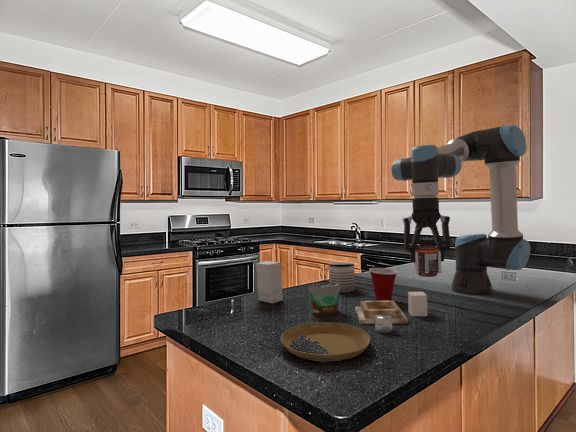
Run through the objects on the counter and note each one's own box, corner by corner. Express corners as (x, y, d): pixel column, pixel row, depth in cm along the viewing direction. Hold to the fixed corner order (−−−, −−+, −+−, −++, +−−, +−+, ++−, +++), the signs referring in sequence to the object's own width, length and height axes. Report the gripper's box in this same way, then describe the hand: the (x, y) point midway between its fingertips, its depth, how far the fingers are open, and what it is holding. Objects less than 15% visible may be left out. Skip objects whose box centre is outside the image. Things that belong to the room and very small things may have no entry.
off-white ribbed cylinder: (326, 291, 164) (325, 264, 163) (333, 285, 174) (332, 259, 174) (352, 293, 159) (351, 264, 159) (357, 287, 170) (356, 260, 169)
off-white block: (423, 311, 130) (422, 291, 130) (427, 316, 125) (427, 295, 125) (408, 311, 131) (408, 291, 130) (412, 316, 126) (411, 295, 125)
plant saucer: (359, 330, 115) (359, 319, 115) (381, 365, 91) (381, 351, 91) (280, 334, 114) (280, 323, 114) (281, 370, 90) (281, 356, 90)
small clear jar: (390, 327, 116) (390, 314, 116) (393, 332, 112) (393, 319, 111) (374, 327, 117) (373, 314, 117) (376, 332, 112) (376, 319, 112)
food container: (318, 318, 127) (317, 289, 126) (309, 314, 132) (308, 286, 132) (348, 312, 132) (347, 284, 132) (338, 308, 138) (337, 281, 137)
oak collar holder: (397, 309, 134) (397, 299, 134) (408, 323, 119) (407, 311, 119) (355, 310, 135) (354, 299, 135) (360, 323, 120) (359, 312, 120)
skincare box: (283, 300, 152) (281, 262, 151) (271, 304, 147) (270, 264, 146) (268, 297, 157) (267, 260, 157) (257, 300, 152) (255, 262, 152)
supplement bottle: (413, 274, 118) (412, 238, 118) (432, 272, 119) (431, 237, 118) (422, 277, 112) (421, 240, 112) (441, 276, 113) (440, 239, 112)
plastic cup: (400, 304, 140) (399, 272, 140) (370, 303, 142) (369, 272, 142) (397, 296, 151) (396, 266, 150) (369, 296, 153) (369, 267, 152)
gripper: (396, 198, 111) (398, 275, 112) (462, 195, 110) (464, 274, 111) (391, 198, 119) (393, 271, 120) (453, 195, 117) (454, 269, 118)
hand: (427, 272), depth 115 cm, fingers closed on supplement bottle, 6 cm apart
